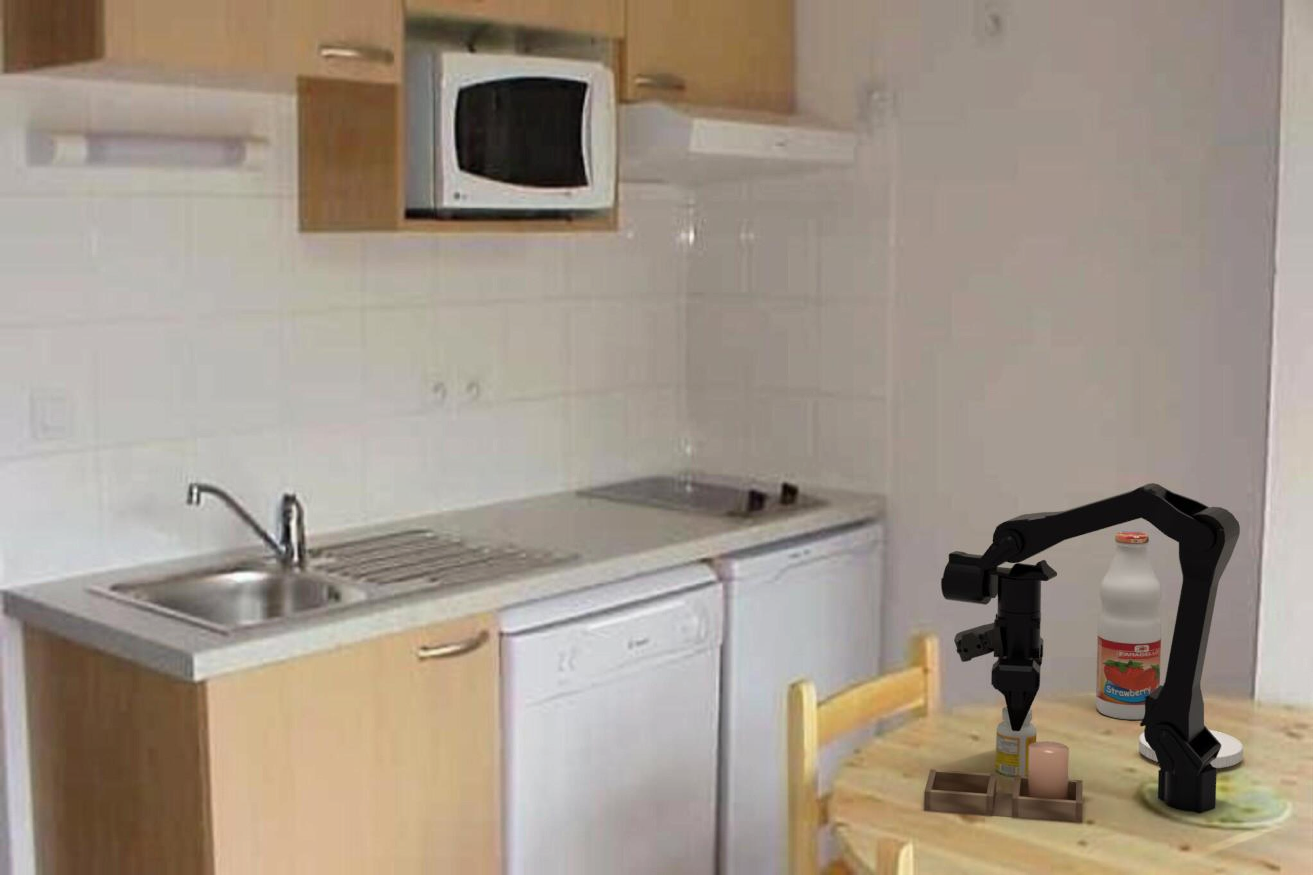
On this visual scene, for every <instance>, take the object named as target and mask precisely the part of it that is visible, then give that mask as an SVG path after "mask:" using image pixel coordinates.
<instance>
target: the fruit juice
mask: <svg viewBox="0 0 1313 875" xmlns="http://www.w3.org/2000/svg"><path fill="white" fill-rule="evenodd" d="M1114 541H1115V545H1116V551H1115V553H1114V556H1113V558H1112V560H1111V563H1110V566H1109V568H1108V570H1107V571H1106V574H1105V575H1104V577H1103V578H1102V580H1101V582H1100V586H1099V596H1100V600H1101V605H1102V609H1101V612H1100V615H1099V618H1098V620H1097V621H1098V622H1097V642H1096V643H1097V644H1096V646H1097V649H1096V650H1097V651H1096V652H1097V654H1096V681H1095V682H1096V683H1095V684H1096V685H1095V686H1096V691H1095V694H1096V695H1095V705H1096V710H1097V711H1098V712H1099V713H1100V714H1102V715H1105V716H1107V717H1111V718H1113V719H1114V718H1115V719H1119V720H1120V719H1121V720H1133V721H1134V720H1136V721H1137V720H1143V718H1144V715H1145V699H1146V696H1147V695H1148V694H1150V693H1151V692H1152V691H1154V690H1155V689H1156V688H1158V687H1159V686H1160V685H1161V684H1160V682H1161V681H1160V680H1161V651H1162V650H1161V649H1162V622H1161V618H1160V615H1159V610H1158V609H1159V606H1160V603H1161V599H1162V586H1161V583H1160V581H1159V580H1158V578H1157V576H1156V574H1155V571H1154V569H1153V566H1152V563H1151V560H1150V557H1149V554H1148V550H1147V547H1148V545H1149V542H1150V539H1149V534H1147V533H1146V532H1141V531H1131V530H1129V531H1128V530H1127V531H1119V532H1116V533H1115V537H1114Z"/></svg>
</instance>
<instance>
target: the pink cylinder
mask: <svg viewBox="0 0 1313 875" xmlns="http://www.w3.org/2000/svg"><path fill="white" fill-rule="evenodd" d="M1069 758H1070V749H1069V746H1067V745H1066V744H1064V743H1060V742H1055V741H1046V740H1045V741H1044V740H1043V741H1036V742H1035V743H1032V744H1030V745H1029V760H1028V797H1033V798H1046V799H1059V800H1068V779H1069V769H1070V768H1069V766H1070V764H1069V761H1070V760H1069Z"/></svg>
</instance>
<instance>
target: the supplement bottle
mask: <svg viewBox="0 0 1313 875" xmlns="http://www.w3.org/2000/svg"><path fill="white" fill-rule="evenodd" d="M1001 710H1002V711H1001V718H1002V720H1003V721H1001V722H1000V723H998V725H997V727H996V734H995V739H996V741H995V742H996V746H995V747H996V748H995V772H996V774H999V775H1002V776H1004V777H1005V776H1006V777H1009V778H1015V775H1016V776H1028V760H1029V745H1030V744H1032V743H1035V742H1037V732H1038V731H1037V728H1036V726H1035V725H1034V724H1033V723H1031V722H1032V720H1033V710H1032V709H1031V708H1030V710H1029V712H1028V714H1027V716H1026V719H1025V721H1024V723H1023V725H1022V728H1021V730H1020V731H1012V729H1011V724H1010V720H1009V715H1008V710H1007V706H1004V707H1003V708H1002V709H1001Z"/></svg>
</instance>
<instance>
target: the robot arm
mask: <svg viewBox="0 0 1313 875" xmlns="http://www.w3.org/2000/svg"><path fill="white" fill-rule="evenodd" d="M1140 519H1143V520H1145V521H1147V522H1148V523H1150V524H1151V525H1152V526H1153V527H1155V528H1156V529H1157V530H1158V531H1159V532H1161V533H1162V534H1163V535H1165V536H1166V537H1168V538H1170V539H1171V540H1173V541H1175V542H1177V543H1178V560H1179V565H1180V570H1181V575H1182V583H1181V589H1180V595H1179V600H1178V604H1177V610H1176V611H1177V612H1176V618H1175V622H1174V623H1175V624H1174V629H1173V634H1172V640H1171V646H1170V650H1169V657H1168V662H1167V663H1168V664H1167V666H1166V667H1167V669H1166V673H1165V679H1164V683H1163V685H1161V684H1160V686H1159V687H1158V688H1156V689H1155V690H1154V691H1152V692H1151V693H1150V694H1148V695H1147V696H1146V699H1145V715H1144V718H1143V719H1141V722H1140V724H1139V727H1144V737H1145V740H1146V742H1147V743H1148V744H1149V746H1150V747H1151V748H1152V749H1153V750H1154V751H1155V754H1156V757H1157V760H1158V762H1157V764H1158V765H1159V768H1160V769H1159V770H1158V774H1157V775H1158V776H1157V777H1158V778H1157V799H1159V800H1160V801H1161V802H1164V804H1165V805H1166V806H1167V807H1169V808H1171V809H1174V810H1177V811H1181V812H1189V813H1197V814H1203V813H1206V812H1209V811H1211V810H1215V809H1216V805H1217V804H1216V802H1217V801H1216V799H1217V774H1218V772H1217V771H1218V770H1217V769H1218V768H1215V767H1212V765H1211V764H1210V762H1211V761H1212V760H1213V759H1216V758H1217V755H1218V753H1219V751H1220V749H1221V744H1220V742H1219V741H1218V740H1217V739H1216V738H1215V737H1214V736H1213V734H1212V733H1211V732H1210V731H1209V730H1210V729H1208V727H1206V725H1205V702H1204V699H1203V698H1204V697H1203V693H1202V689H1201V682H1202V681H1201V680H1202V676H1203V670H1204V665H1205V659H1206V654H1207V649H1208V644H1209V636H1210V632H1211V625H1212V621H1213V614H1214V611H1215V610H1214V608H1215V604H1216V598H1217V592H1218V587H1219V582H1220V580H1221V578H1222V576H1223V575H1224V572H1225V570H1226V568H1227V565H1228V564H1229V562H1230V561H1231V558H1232V555H1233V554H1234V551H1235V547H1236V544H1237V543H1238V540H1239V537H1240V533H1241V532H1240V531H1241V526H1240V524H1239V521H1238V520H1237V518H1236V517H1235V516H1234V514H1233V513H1232V512H1230V511H1229V509H1226V508H1223V507H1221V506H1211V507H1210V506H1207V505H1206V504H1204V503H1202V502H1200V501H1198V500H1196V499H1193V498H1191V497H1188V496H1185V495H1182V494H1179V493H1176V492H1174V491H1172V490H1169V489H1167V488H1165V487H1163V486H1162V485H1160V484H1158V483H1154V482H1151V483H1147V484H1144V485H1142V486H1139V487H1138V488H1135V489H1132V490H1129V491H1127V492H1122V493H1119V494H1116V495H1112V496H1109V497H1107V498H1103V499H1100V500H1096V501H1094V502H1093V501H1092V502H1090V503H1086V504H1083V505H1079V506H1076V507H1073V508H1070V509H1066V510H1062V511H1061V510H1060V511H1044V512H1043V511H1042V512H1034V513H1033V512H1032V513H1024V514H1021V515H1018V516H1015V517H1013V518H1010V519H1008V520H1005V521H1003V522H1001V523H999V524H998V525H997V526H996V527H995V530H994V532H993V534H992V543H991V545H989V547H988V548H987V549H986V551H985V552H984V553H983V554H982V555H981V554H974V553H967V552H964V551H958V550H954V551H952V552H950V553H949V554H948V562H947V564H946V565H945V568H944V571H943V574H942V577H941V581H940V588H941V593H942V596H943V598H944V599H945V600H948V601H954V602H961V603H970V604H978V605H985V606H987V605H988V604H989V603H990V602H991V600H992V599H995V598H996V597H997V613H995V619H994V622H991V623H988V624H983V625H979V626H975V627H972V628H969V629H965V630H962V631H960V632H958V633H956V634H955V637H954V639H953V642H954V644H955V647H956V653H957V654H958V655H959V658H960V661H961V662H962V663H966V662H970V661H971V660H972V659H975V658H978V657H981V656H985V655H989V654H990V653H991V654H992V653H993V658H997V660H996V661H995V662H994V663H993V664H992V667H991V672H990V673H991V675H990V676H991V678H990V680H991V684H990V685H991V686H992V687H993V688H994V689H995V690H997V691H998V692H999V693H1001V694H1002V695H1003V697H1004V701H1005V705H1006V707H1007V710H1008V715H1009V720H1010V724H1011V729H1012V731H1020V730H1021V728H1022V725H1023V723H1024V721H1025V719H1026V716H1027V714H1028V712H1029V710H1030V709H1031V707H1032V705H1033V703H1034V701H1035V698H1036V696H1037V694H1038V692H1039V691H1040V686H1041V669H1042V668H1041V666H1042V664H1043V657H1044V639H1043V638H1042V637H1041V624H1042V623H1041V622H1042V610H1041V609H1042V608H1041V606H1042V582H1047V581H1048V582H1049V581H1050V580H1052V579H1054V578H1056V577H1057V576H1058V572H1057V571H1056V570H1055V569H1054V568H1052V566H1050V564H1048V562H1047V561H1046V560H1045V559H1042V560H1040V561H1038V562H1037V563H1036V564H1029V563H1021V562H1024V561H1026V560H1028V559H1030V558H1032V557H1034V556H1037V555H1039V554H1041V553H1043V552H1045V551H1047V550H1049V549H1051V548H1052V547H1055V546H1057V545H1058V544H1060V543H1062V542H1064V541H1066V540H1070V539H1073V538H1076V537H1079V536H1080V537H1081V536H1083V535H1086V534H1090V533H1094V532H1098V531H1101V530H1104V529H1108V528H1110V527H1114V526H1119V525H1121V524H1124V523H1128V522H1131V521H1136V520H1140ZM1006 563H1009V564H1013V565H1012V567H1003V566H1001V565H1003V564H1006Z"/></svg>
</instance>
